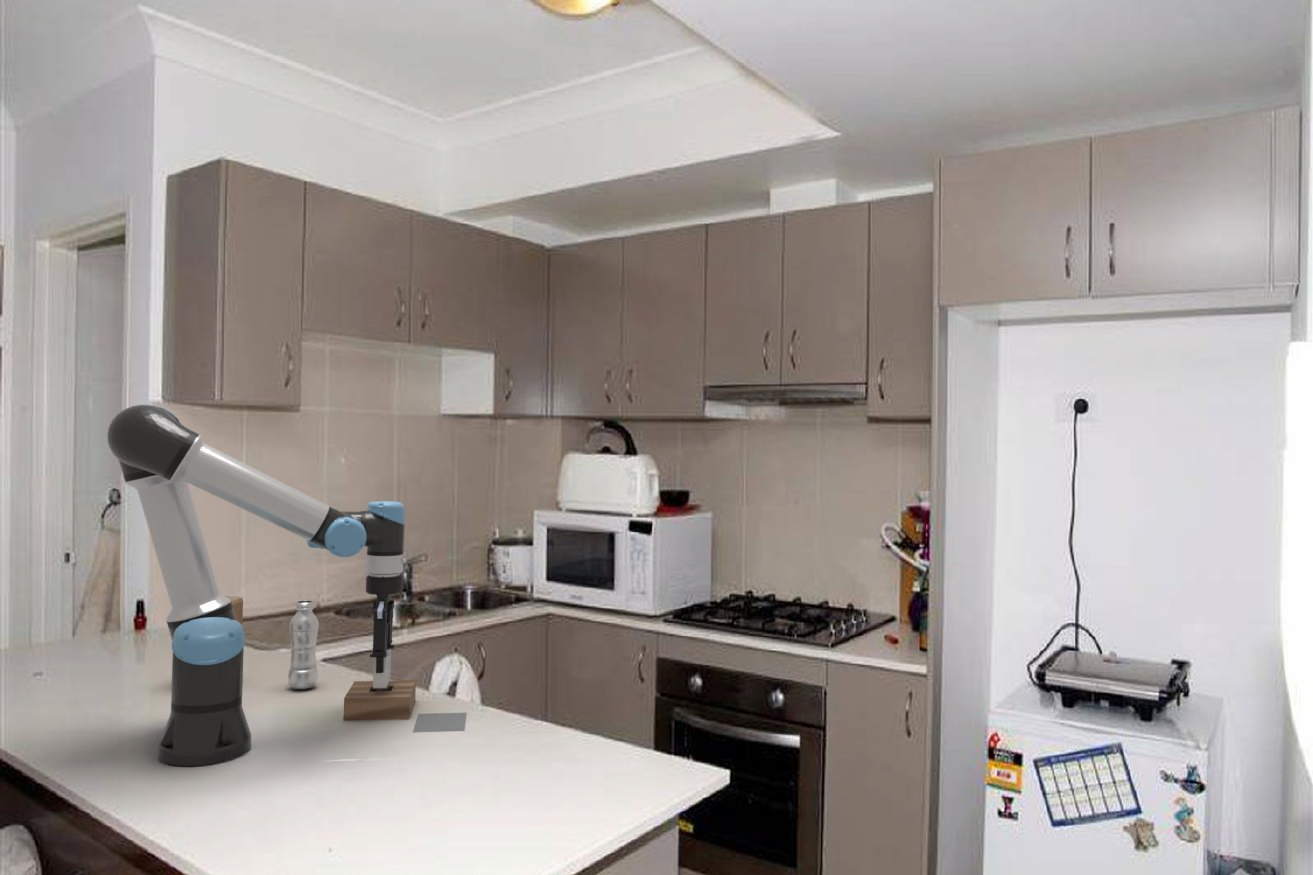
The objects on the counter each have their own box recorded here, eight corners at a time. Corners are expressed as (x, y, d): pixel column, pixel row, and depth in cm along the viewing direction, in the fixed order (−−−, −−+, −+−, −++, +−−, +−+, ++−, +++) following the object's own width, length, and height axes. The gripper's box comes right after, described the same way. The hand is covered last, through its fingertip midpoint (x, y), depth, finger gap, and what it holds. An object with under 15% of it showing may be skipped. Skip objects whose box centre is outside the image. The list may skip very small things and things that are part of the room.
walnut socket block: (409, 720, 184) (409, 696, 184) (343, 722, 182) (344, 697, 182) (415, 702, 197) (415, 679, 197) (353, 703, 195) (354, 681, 195)
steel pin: (387, 714, 188) (389, 657, 189) (372, 714, 188) (374, 657, 188) (389, 709, 191) (390, 653, 191) (374, 710, 191) (376, 654, 191)
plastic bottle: (322, 685, 209) (325, 599, 209) (308, 693, 202) (311, 604, 202) (296, 683, 210) (299, 598, 210) (281, 691, 203) (284, 603, 203)
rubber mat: (464, 732, 178) (464, 730, 178) (412, 733, 176) (412, 731, 176) (466, 714, 190) (466, 712, 190) (418, 715, 188) (418, 713, 188)
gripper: (398, 580, 182) (394, 695, 181) (407, 568, 199) (404, 672, 199) (359, 580, 180) (356, 696, 180) (372, 568, 198) (369, 673, 198)
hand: (381, 683), depth 190 cm, fingers open, 5 cm apart
